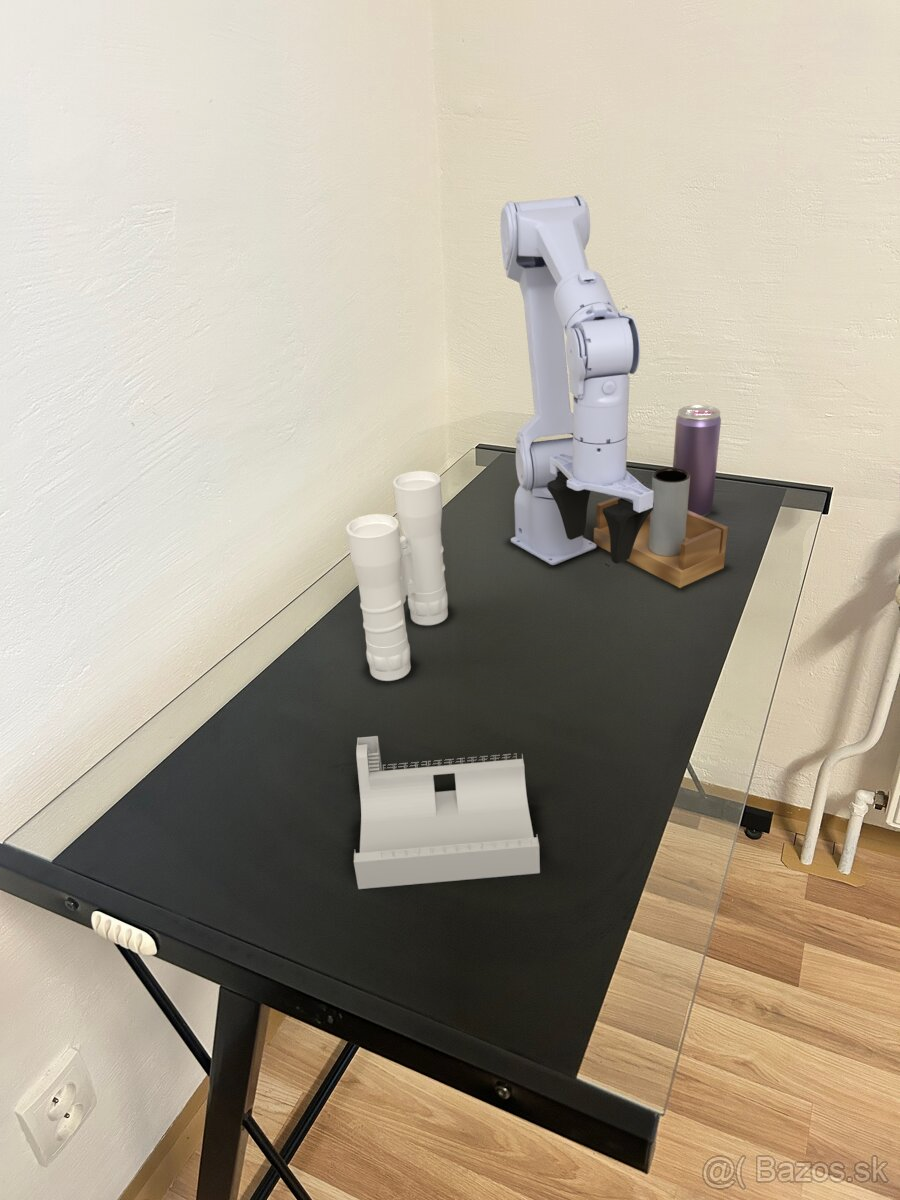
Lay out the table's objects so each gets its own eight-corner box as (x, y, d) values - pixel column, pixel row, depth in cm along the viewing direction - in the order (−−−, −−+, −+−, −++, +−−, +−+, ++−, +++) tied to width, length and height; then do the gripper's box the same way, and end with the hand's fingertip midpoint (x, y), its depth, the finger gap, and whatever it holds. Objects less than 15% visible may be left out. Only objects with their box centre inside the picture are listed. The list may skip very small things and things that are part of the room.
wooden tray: (593, 543, 122) (594, 504, 119) (635, 526, 125) (637, 488, 122) (679, 588, 110) (683, 546, 107) (723, 568, 114) (728, 527, 111)
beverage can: (713, 520, 125) (723, 419, 118) (670, 519, 127) (677, 418, 119) (711, 502, 130) (720, 404, 123) (669, 501, 132) (676, 404, 124)
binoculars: (417, 601, 112) (404, 468, 102) (457, 606, 110) (447, 472, 100) (358, 678, 98) (336, 534, 89) (403, 686, 96) (385, 539, 87)
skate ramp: (358, 889, 72) (350, 845, 70) (363, 779, 84) (357, 737, 81) (539, 873, 73) (538, 828, 70) (520, 765, 84) (519, 723, 81)
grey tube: (663, 560, 112) (668, 485, 106) (641, 546, 115) (644, 473, 110) (691, 550, 113) (698, 476, 108) (668, 537, 117) (673, 464, 111)
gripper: (528, 426, 97) (530, 536, 104) (619, 463, 87) (615, 583, 94) (577, 411, 100) (576, 519, 107) (671, 445, 90) (663, 562, 97)
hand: (597, 548), depth 101 cm, fingers open, 7 cm apart
